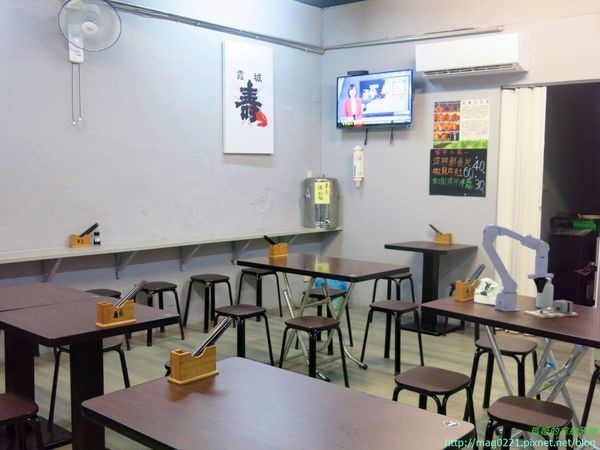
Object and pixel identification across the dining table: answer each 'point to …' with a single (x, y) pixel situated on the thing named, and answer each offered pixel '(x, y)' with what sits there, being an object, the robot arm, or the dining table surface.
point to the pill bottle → (545, 296)
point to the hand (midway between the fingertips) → (539, 292)
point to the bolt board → (552, 311)
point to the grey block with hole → (560, 306)
